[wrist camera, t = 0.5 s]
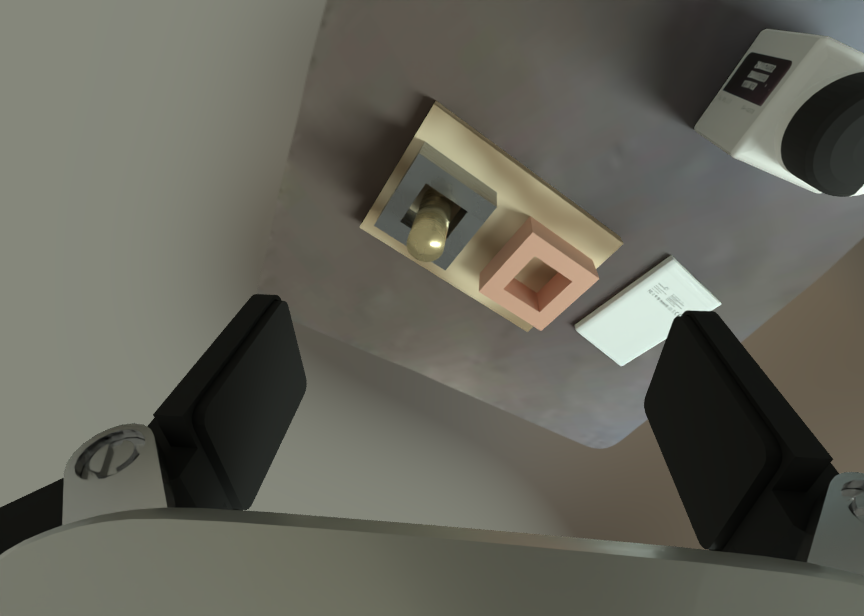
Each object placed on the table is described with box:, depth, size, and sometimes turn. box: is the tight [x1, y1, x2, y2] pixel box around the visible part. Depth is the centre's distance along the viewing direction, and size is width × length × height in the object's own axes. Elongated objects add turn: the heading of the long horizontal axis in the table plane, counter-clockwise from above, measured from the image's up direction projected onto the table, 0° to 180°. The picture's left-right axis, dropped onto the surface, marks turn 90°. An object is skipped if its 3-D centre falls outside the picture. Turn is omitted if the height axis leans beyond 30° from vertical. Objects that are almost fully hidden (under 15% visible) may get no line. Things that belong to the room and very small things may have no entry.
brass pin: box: [407, 187, 453, 262], centre depth 38 cm, size 3×3×9 cm
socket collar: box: [479, 216, 599, 331], centre depth 43 cm, size 8×8×4 cm
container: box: [694, 29, 864, 197], centre depth 29 cm, size 8×8×13 cm
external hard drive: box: [574, 255, 721, 366], centre depth 47 cm, size 2×8×12 cm
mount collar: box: [374, 142, 497, 271], centre depth 40 cm, size 8×8×4 cm
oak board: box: [360, 101, 623, 332], centre depth 43 cm, size 14×22×2 cm, turn 57°
